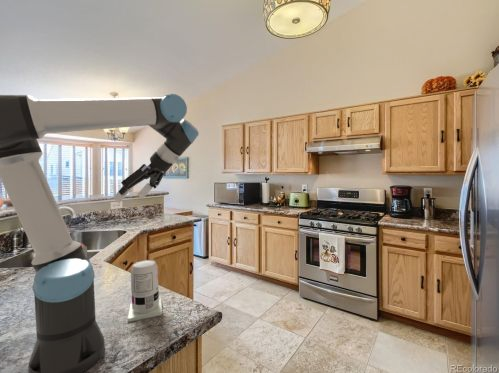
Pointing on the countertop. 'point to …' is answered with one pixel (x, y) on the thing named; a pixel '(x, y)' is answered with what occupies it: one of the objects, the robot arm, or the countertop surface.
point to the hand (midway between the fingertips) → (128, 198)
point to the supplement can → (144, 286)
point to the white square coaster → (138, 316)
